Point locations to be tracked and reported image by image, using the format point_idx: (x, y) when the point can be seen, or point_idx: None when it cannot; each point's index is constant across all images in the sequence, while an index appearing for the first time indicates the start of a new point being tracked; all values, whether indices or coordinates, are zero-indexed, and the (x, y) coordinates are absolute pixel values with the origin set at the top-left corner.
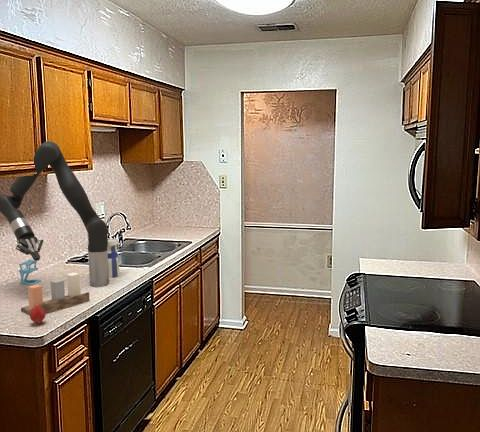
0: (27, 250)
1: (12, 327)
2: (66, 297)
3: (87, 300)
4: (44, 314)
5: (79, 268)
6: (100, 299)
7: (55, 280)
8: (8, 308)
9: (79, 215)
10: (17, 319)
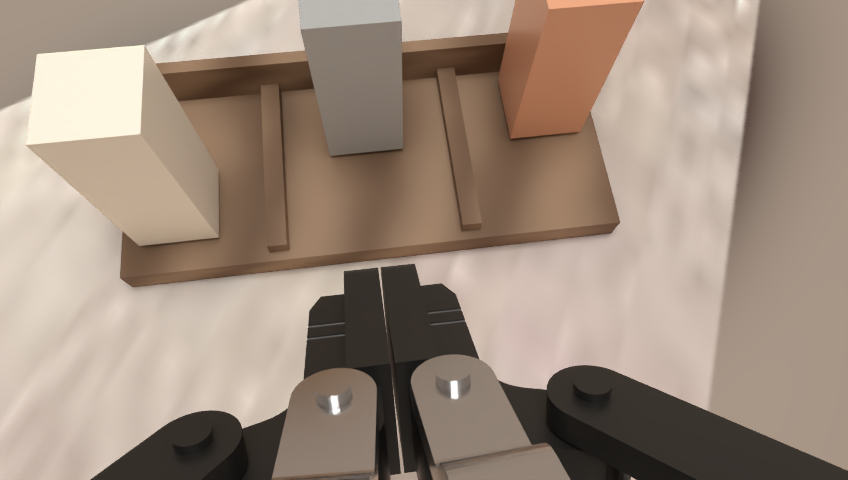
0: (621, 396)
1: (714, 7)
2: (265, 172)
3: None
4: None
5: None
6: None
7: (354, 4)
8: (682, 365)
9: None
10: (665, 102)
